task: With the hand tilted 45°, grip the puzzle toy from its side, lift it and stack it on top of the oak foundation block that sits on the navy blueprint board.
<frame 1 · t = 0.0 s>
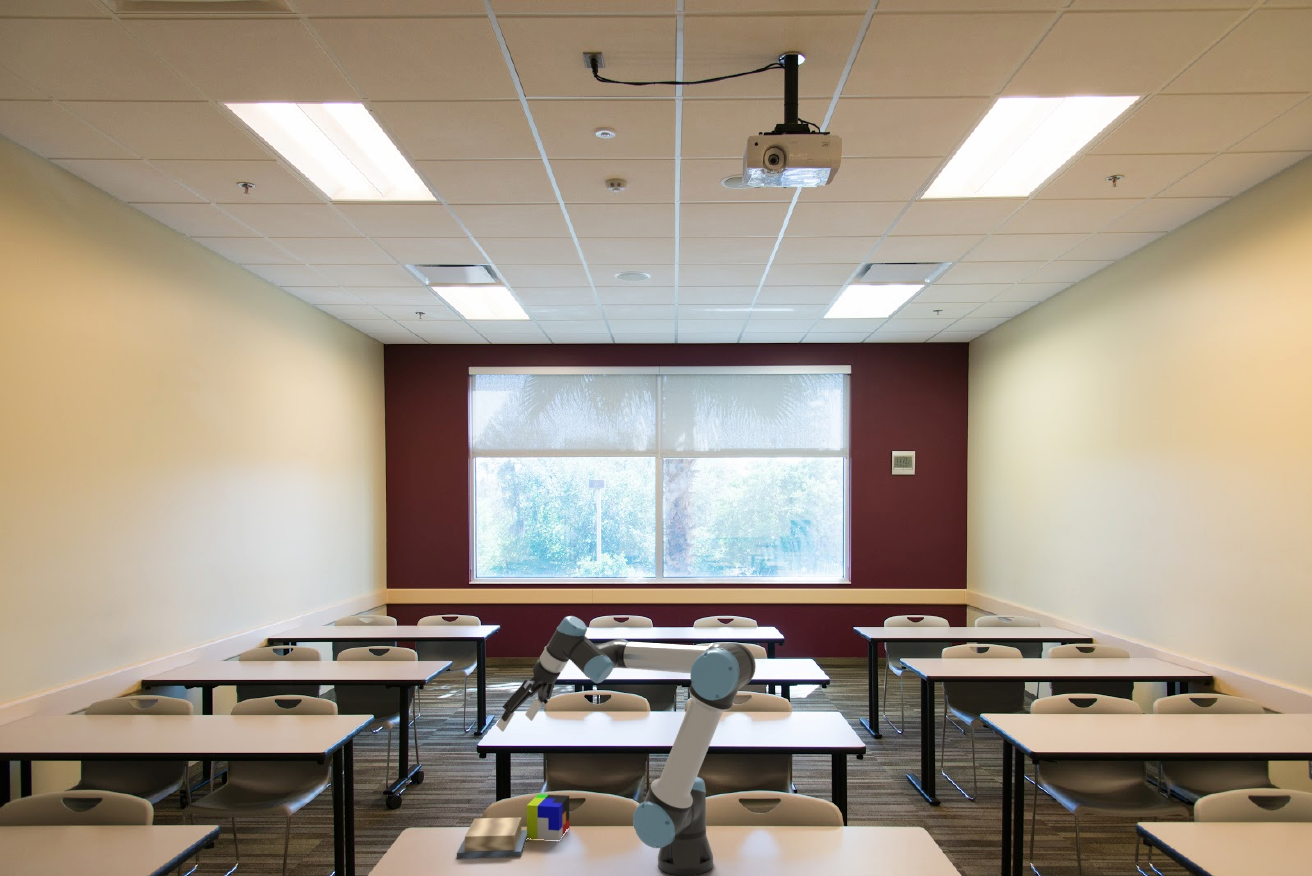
hand: (514, 722, 233), 36 cm above the table, tool tilted 35°, fingers open, 13 cm apart
foundation block: (493, 846, 233), on the table
puzzle toy: (548, 835, 242), on the table
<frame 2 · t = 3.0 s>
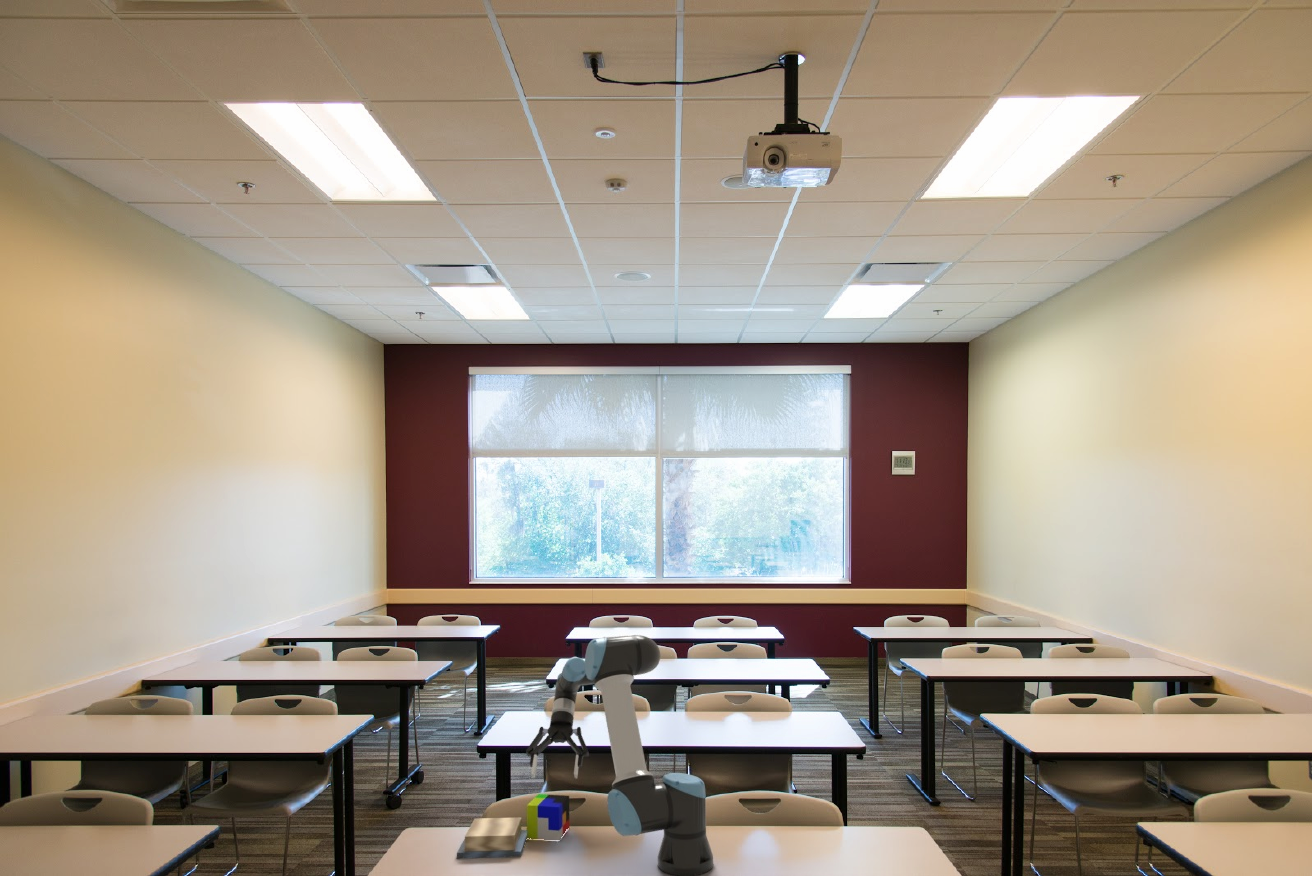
hand: (554, 776, 253), 14 cm above the table, tool tilted 45°, fingers open, 13 cm apart
nothing on the table moved.
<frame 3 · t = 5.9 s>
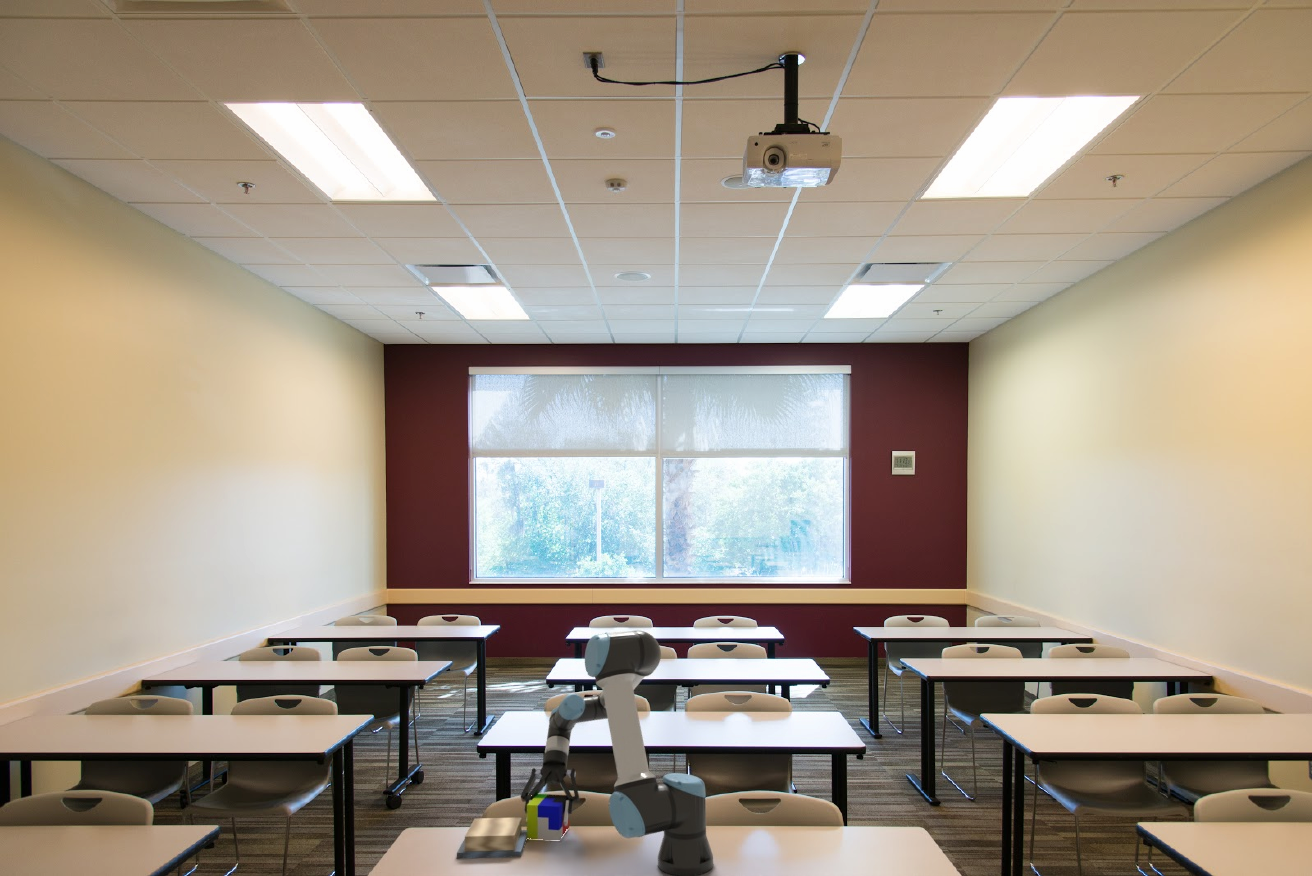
hand: (546, 823, 239), 4 cm above the table, tool tilted 45°, fingers closed on puzzle toy, 11 cm apart
puzzle toy: (548, 835, 242), on the table, touching gripper
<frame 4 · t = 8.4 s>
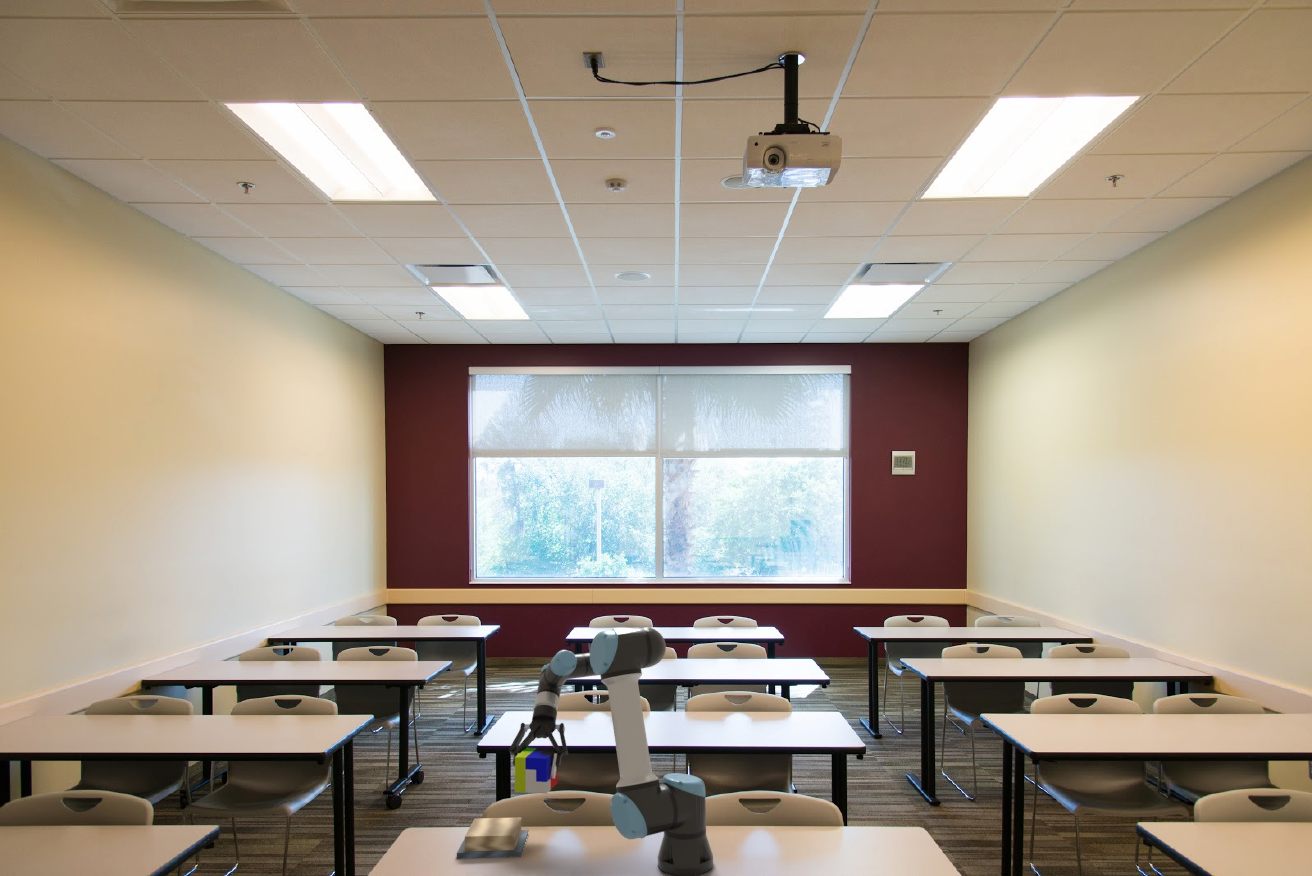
hand: (534, 776, 240), 18 cm above the table, tool tilted 45°, fingers closed on puzzle toy, 11 cm apart
puzzle toy: (536, 787, 242), point 14 cm above the table, touching gripper
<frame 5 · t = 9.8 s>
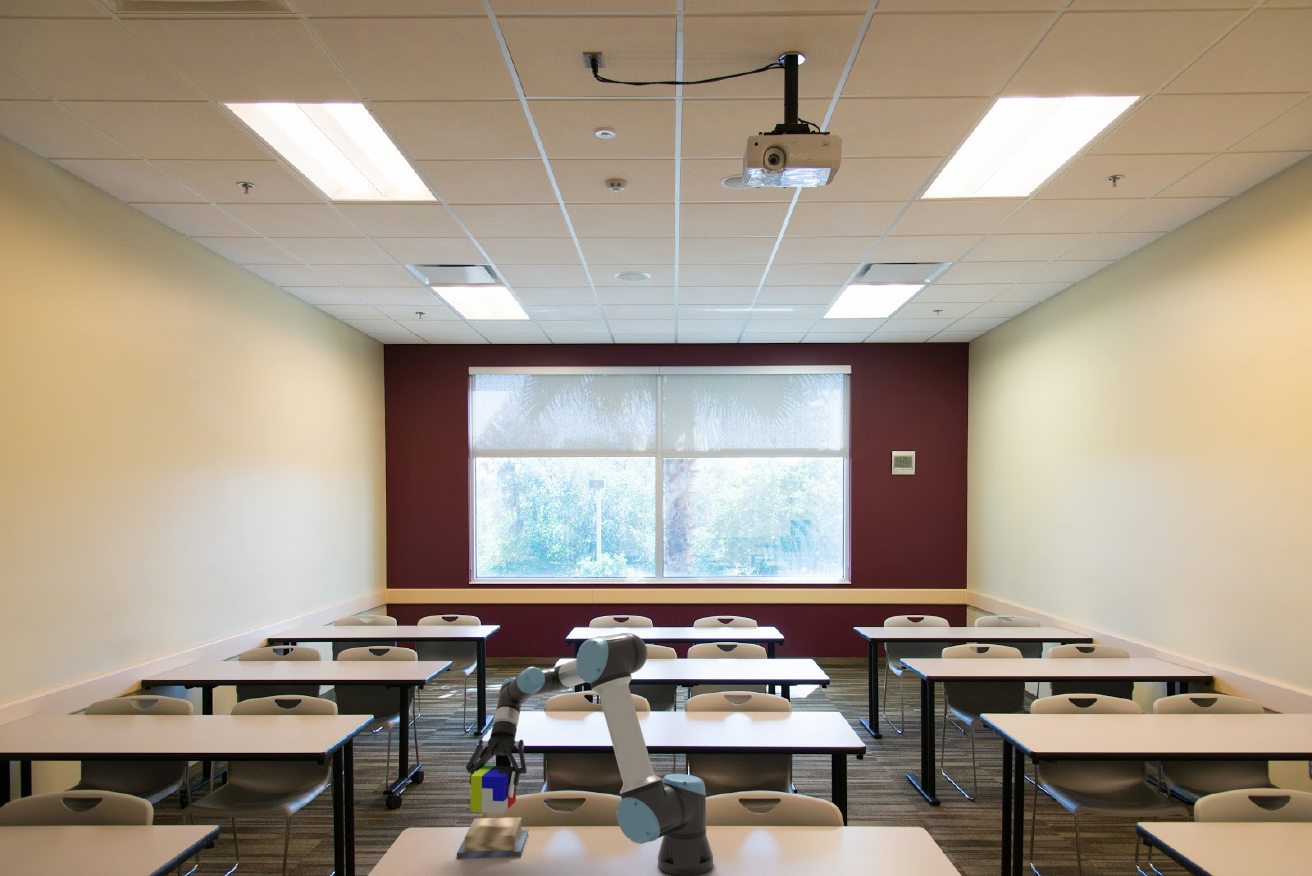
hand: (491, 795, 232), 15 cm above the table, tool tilted 45°, fingers closed on puzzle toy, 11 cm apart
puzzle toy: (493, 807, 235), point 11 cm above the table, touching gripper
when the fingers open (11 cm above the table, at t = 11.0 s): puzzle toy drops 1 cm, resting on foundation block.
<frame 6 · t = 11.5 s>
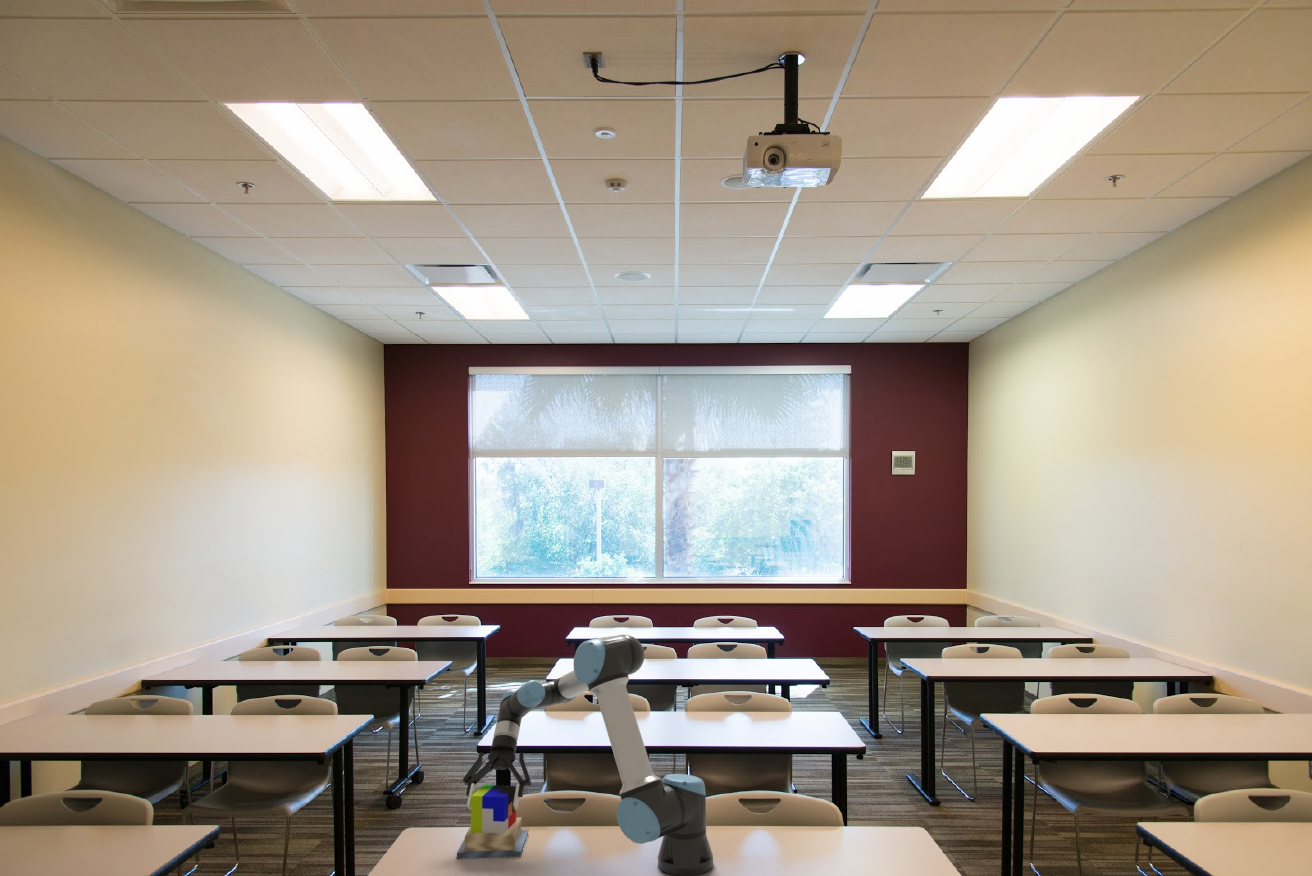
hand: (492, 807, 232), 12 cm above the table, tool tilted 45°, fingers open, 13 cm apart
puzzle toy: (493, 827, 234), point 5 cm above the table, touching foundation block
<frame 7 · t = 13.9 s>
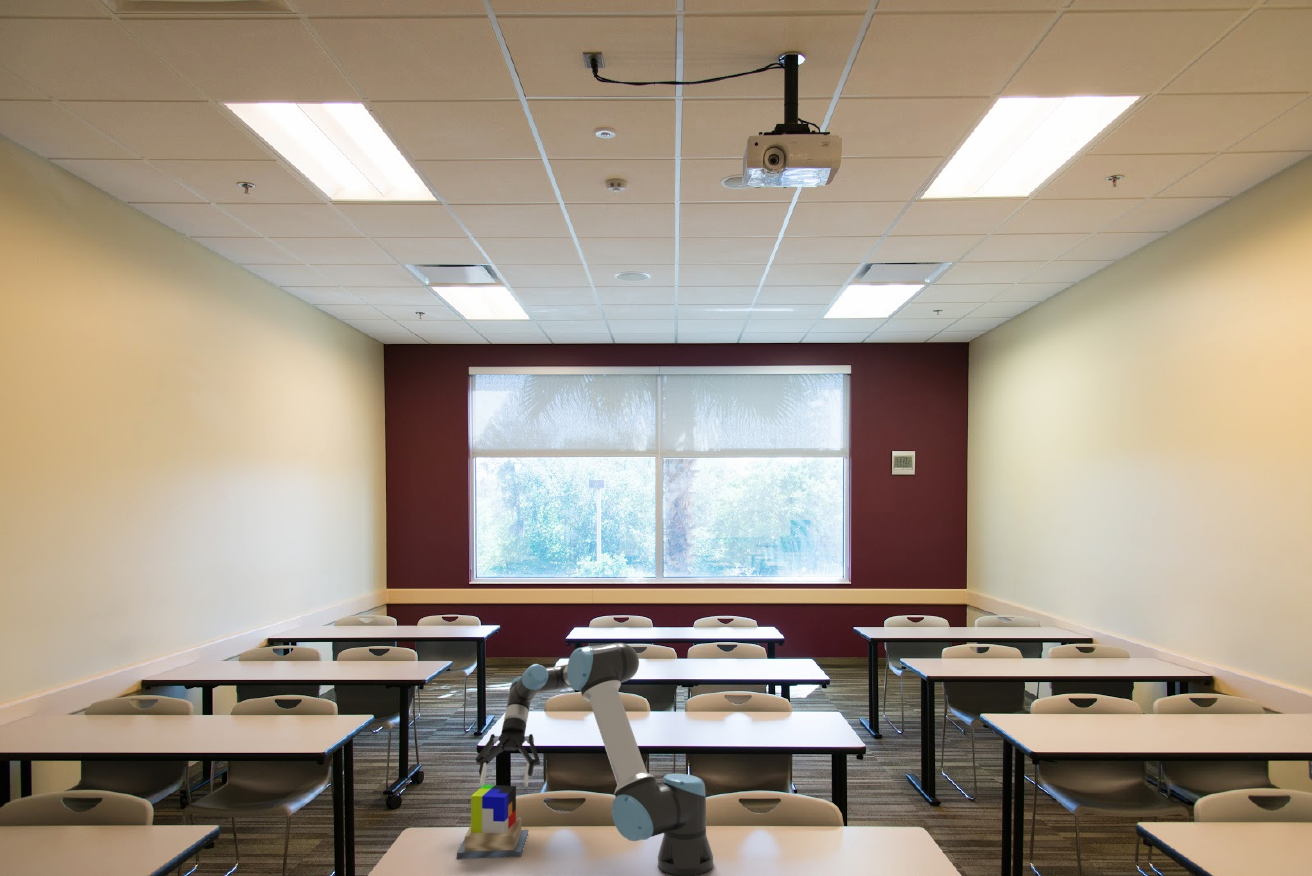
hand: (503, 785, 245), 14 cm above the table, tool tilted 45°, fingers open, 13 cm apart
nothing on the table moved.
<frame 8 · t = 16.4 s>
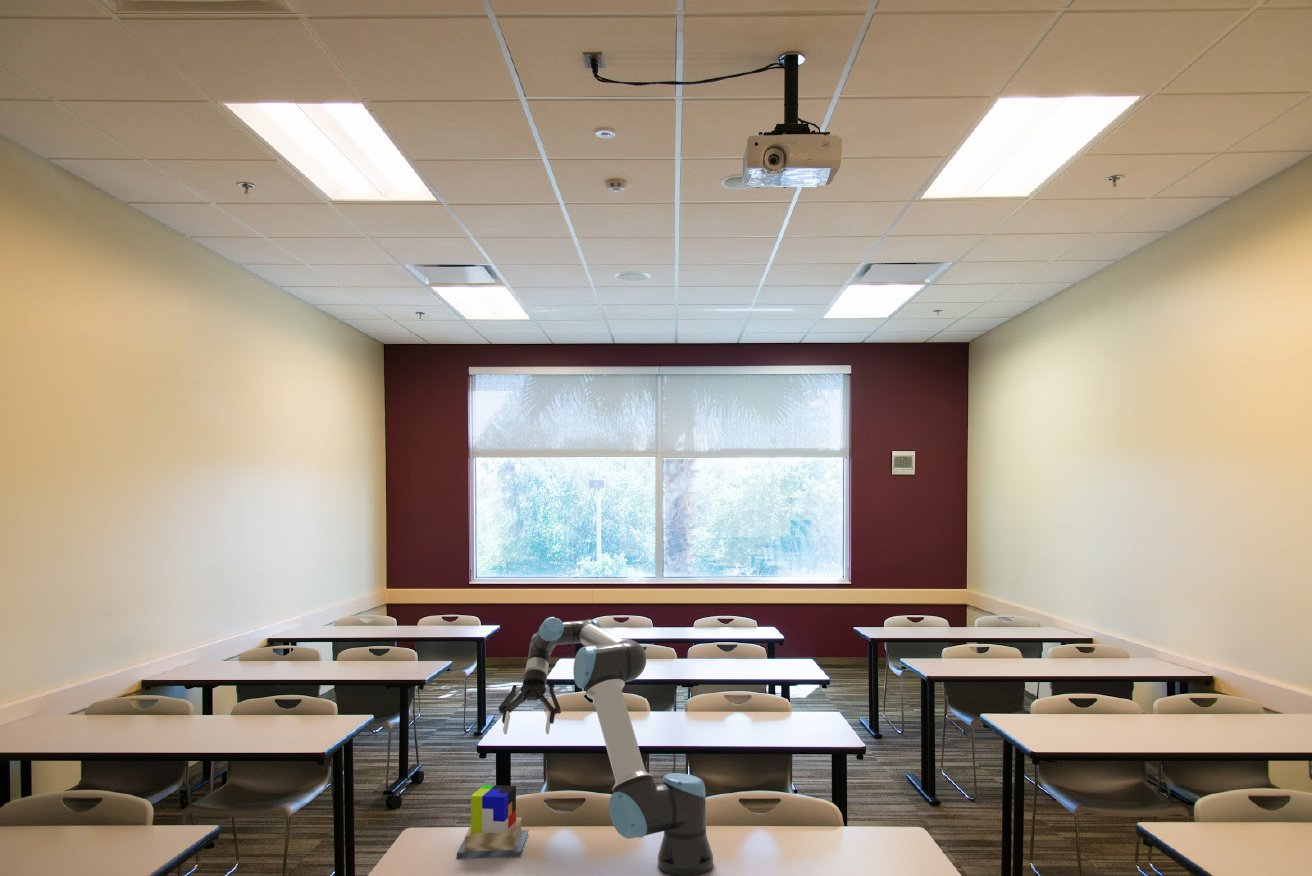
hand: (525, 732, 254), 28 cm above the table, tool tilted 45°, fingers open, 13 cm apart
nothing on the table moved.
at the end: puzzle toy inside the target area on the foundation block (0.1 cm from its centre), point 5.3 cm above the foundation block's base; puzzle toy tilted 0°; the gripper is holding nothing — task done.
